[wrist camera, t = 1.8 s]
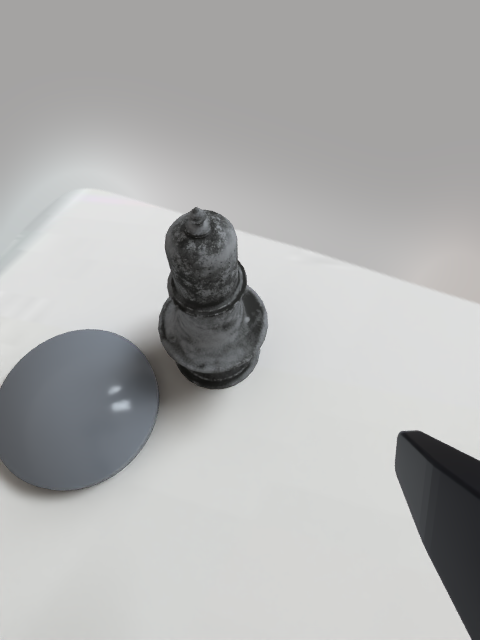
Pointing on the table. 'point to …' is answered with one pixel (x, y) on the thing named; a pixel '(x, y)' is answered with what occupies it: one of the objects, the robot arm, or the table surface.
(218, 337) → the grey upright turned piece
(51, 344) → the disc
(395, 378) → the table surface
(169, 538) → the table surface
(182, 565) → the table surface
